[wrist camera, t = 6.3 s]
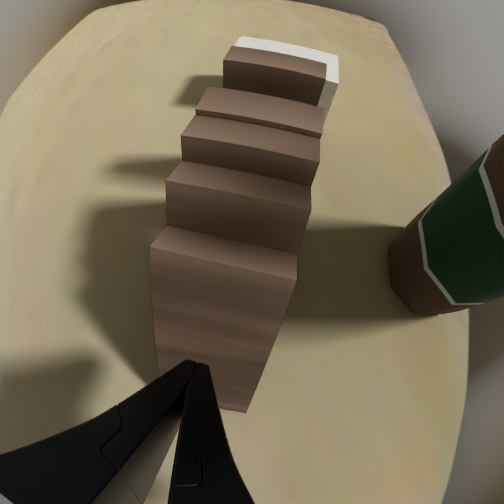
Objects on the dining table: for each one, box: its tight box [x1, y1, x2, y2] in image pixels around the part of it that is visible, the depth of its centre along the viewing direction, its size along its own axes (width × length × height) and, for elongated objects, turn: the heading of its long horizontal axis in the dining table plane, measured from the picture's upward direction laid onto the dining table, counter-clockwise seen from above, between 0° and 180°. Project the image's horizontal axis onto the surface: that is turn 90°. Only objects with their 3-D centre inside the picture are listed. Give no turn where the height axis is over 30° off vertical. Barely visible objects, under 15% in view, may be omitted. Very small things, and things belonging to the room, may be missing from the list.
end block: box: [235, 36, 339, 124], centre depth 22 cm, size 5×9×5 cm, turn 78°
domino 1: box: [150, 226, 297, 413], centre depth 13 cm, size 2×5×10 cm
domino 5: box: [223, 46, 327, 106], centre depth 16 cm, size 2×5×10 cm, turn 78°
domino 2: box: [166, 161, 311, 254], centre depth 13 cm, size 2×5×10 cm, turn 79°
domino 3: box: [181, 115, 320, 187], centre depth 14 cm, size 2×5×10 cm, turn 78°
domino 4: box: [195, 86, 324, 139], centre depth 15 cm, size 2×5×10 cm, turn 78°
